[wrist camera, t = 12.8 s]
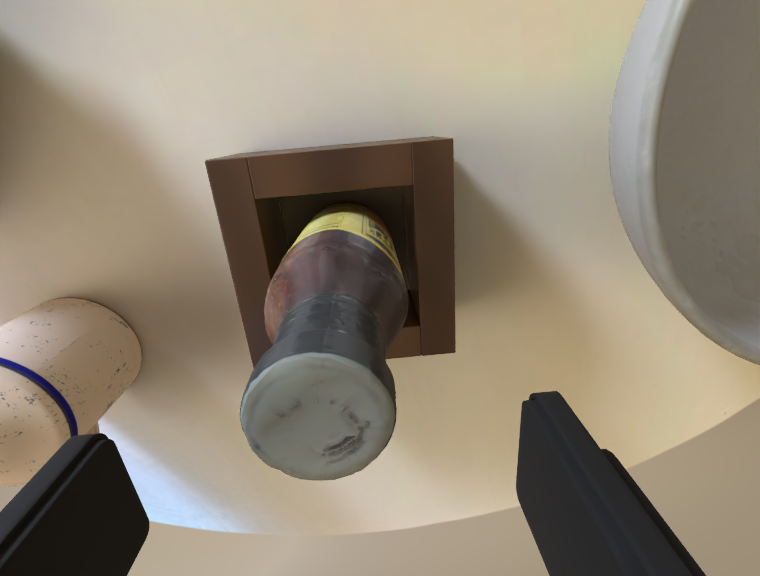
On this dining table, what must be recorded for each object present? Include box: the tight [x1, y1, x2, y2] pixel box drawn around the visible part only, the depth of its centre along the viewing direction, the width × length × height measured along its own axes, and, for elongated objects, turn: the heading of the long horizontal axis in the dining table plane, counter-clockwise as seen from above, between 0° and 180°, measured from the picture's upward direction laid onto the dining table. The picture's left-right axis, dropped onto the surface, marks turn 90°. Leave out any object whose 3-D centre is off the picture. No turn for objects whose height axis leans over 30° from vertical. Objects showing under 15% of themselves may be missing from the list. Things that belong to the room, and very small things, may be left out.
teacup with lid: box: [0, 298, 142, 486], centre depth 26 cm, size 12×9×12 cm
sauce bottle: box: [240, 203, 408, 480], centre depth 19 cm, size 7×6×20 cm
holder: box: [205, 136, 456, 367], centre depth 26 cm, size 13×13×6 cm
